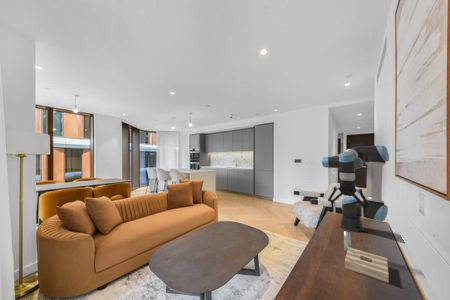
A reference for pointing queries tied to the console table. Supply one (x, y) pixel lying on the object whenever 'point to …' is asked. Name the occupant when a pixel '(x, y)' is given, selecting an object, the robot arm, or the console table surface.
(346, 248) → the pin
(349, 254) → the bore block
